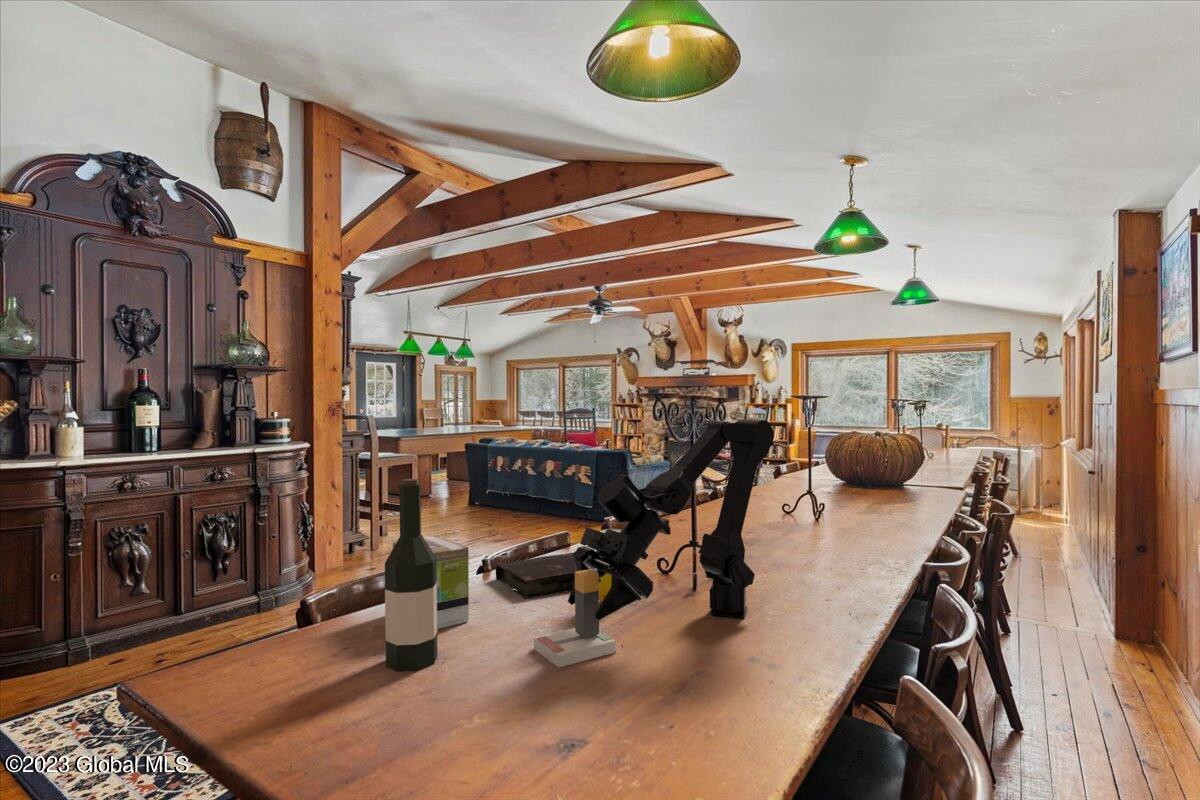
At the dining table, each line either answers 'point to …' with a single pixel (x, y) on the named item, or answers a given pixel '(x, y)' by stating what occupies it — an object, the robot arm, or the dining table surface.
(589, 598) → the lever
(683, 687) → the dining table surface
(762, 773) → the dining table surface
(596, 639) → the plate
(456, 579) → the tea box
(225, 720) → the dining table surface
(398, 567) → the wine bottle
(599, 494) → the robot arm
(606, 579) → the beer can
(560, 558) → the diary
